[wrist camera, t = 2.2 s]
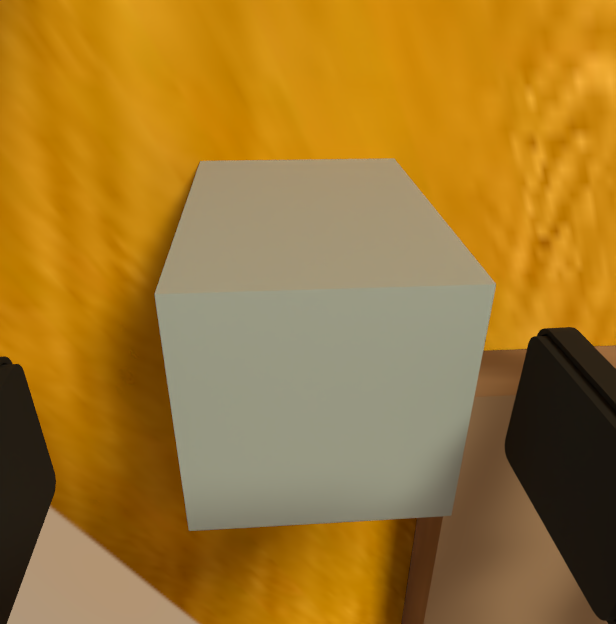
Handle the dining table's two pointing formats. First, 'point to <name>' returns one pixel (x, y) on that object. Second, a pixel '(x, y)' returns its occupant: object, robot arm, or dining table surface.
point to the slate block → (318, 344)
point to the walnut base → (492, 530)
